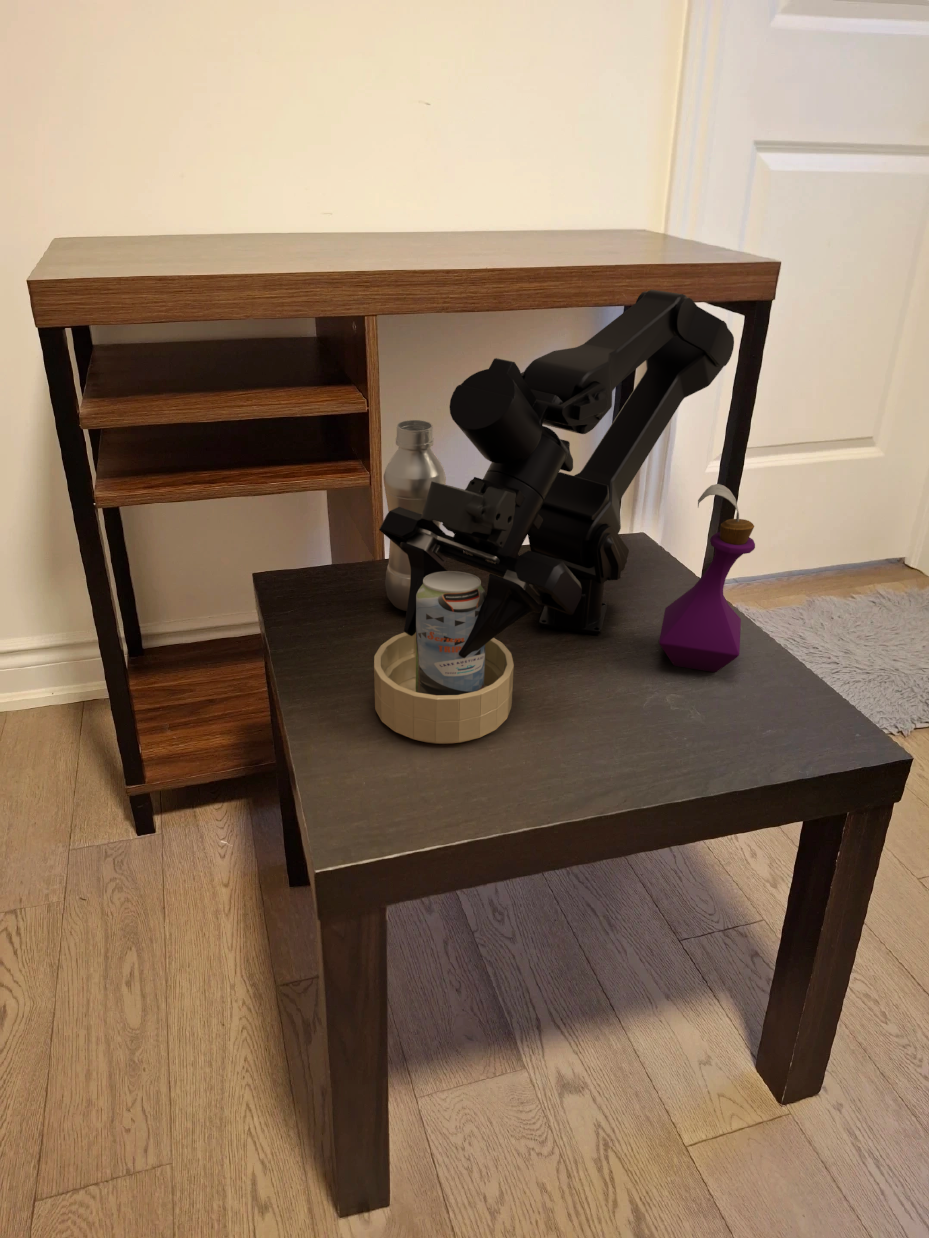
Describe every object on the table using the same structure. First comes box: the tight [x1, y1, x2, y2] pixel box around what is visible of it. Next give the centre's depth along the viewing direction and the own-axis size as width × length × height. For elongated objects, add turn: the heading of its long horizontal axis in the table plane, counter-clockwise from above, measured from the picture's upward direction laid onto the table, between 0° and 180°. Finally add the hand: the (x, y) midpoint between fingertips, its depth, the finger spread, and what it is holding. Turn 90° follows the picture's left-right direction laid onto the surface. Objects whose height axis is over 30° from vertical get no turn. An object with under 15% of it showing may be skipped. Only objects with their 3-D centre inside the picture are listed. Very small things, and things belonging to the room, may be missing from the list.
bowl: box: [373, 631, 515, 745], centre depth 84 cm, size 12×12×5 cm
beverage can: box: [416, 570, 487, 695], centre depth 82 cm, size 6×7×12 cm
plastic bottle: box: [383, 419, 447, 612], centre depth 97 cm, size 6×7×20 cm
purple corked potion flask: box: [658, 483, 756, 673], centre depth 89 cm, size 8×8×18 cm
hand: (434, 645), depth 81 cm, fingers closed on beverage can, 6 cm apart
